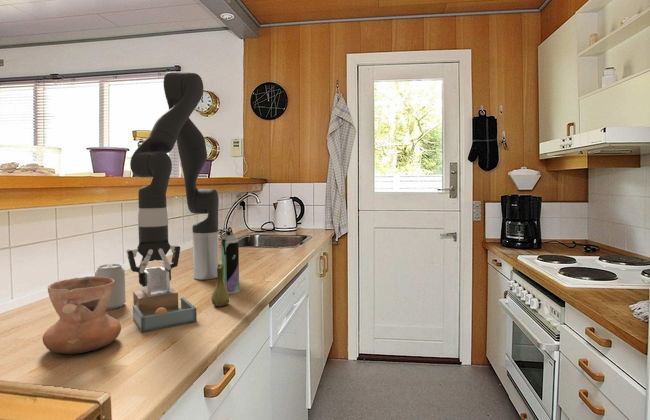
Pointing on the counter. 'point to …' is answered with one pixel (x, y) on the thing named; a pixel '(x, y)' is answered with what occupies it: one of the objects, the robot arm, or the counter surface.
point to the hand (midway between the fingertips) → (155, 284)
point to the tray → (165, 317)
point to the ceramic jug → (81, 315)
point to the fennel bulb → (220, 289)
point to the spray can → (230, 262)
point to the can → (119, 285)
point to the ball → (160, 310)
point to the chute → (156, 281)
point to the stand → (155, 301)
